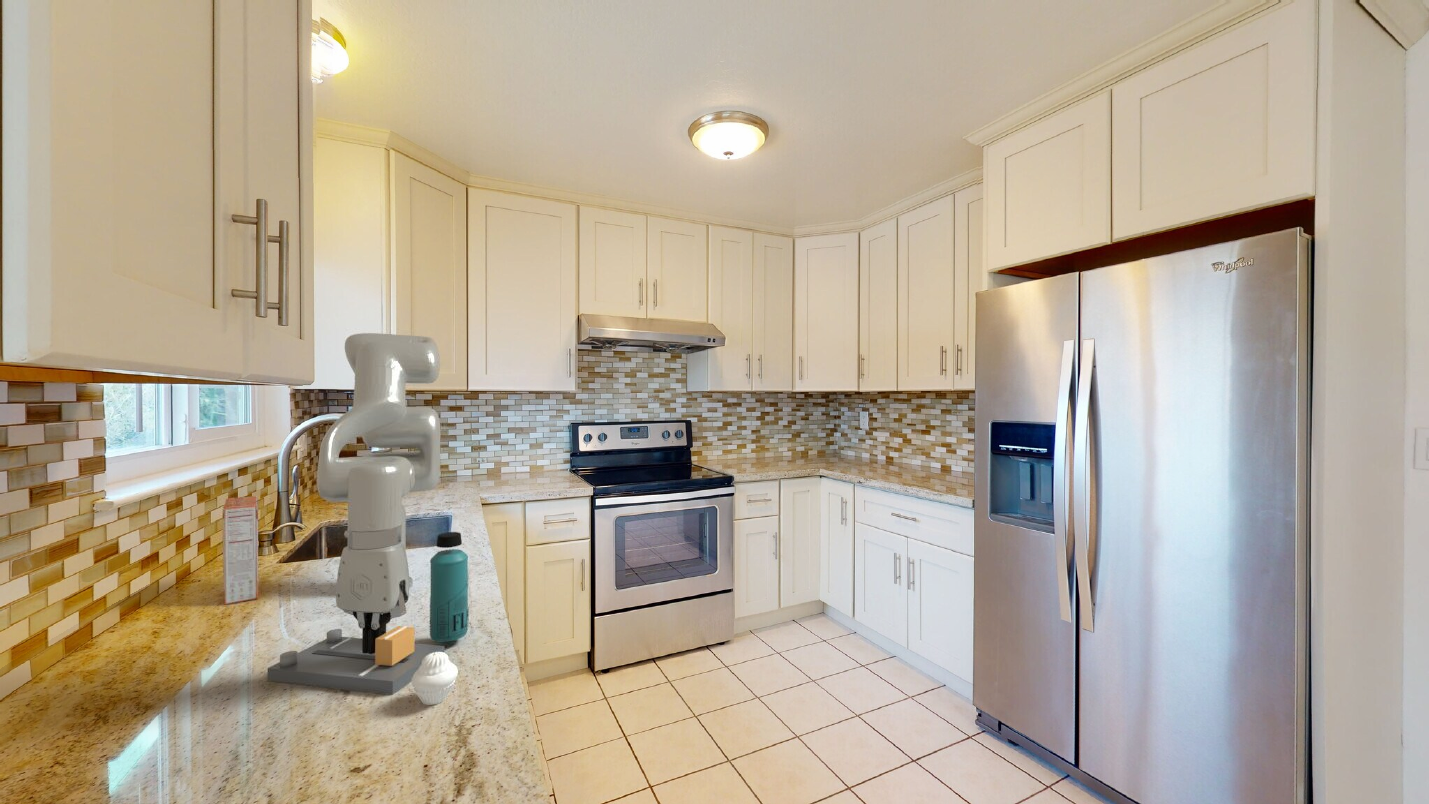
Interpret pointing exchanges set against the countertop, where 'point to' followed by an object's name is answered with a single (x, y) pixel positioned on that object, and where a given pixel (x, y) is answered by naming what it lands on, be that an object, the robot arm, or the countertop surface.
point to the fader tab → (394, 645)
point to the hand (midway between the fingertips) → (374, 649)
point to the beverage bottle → (449, 590)
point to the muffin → (434, 678)
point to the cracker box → (240, 549)
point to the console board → (347, 666)
